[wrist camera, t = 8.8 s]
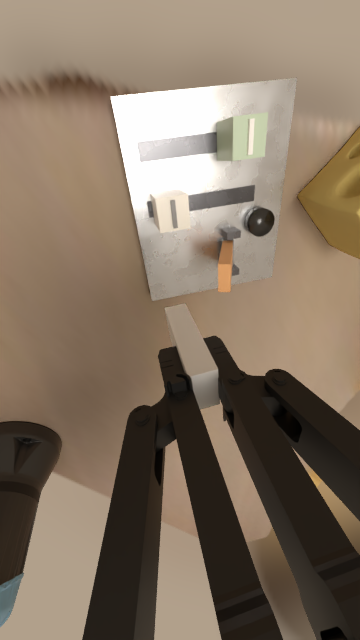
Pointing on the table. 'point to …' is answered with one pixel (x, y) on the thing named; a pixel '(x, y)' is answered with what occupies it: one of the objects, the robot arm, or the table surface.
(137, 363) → the table surface
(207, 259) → the panel
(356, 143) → the cheese
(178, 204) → the slider ivory
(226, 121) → the slider sage
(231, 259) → the lever orange
